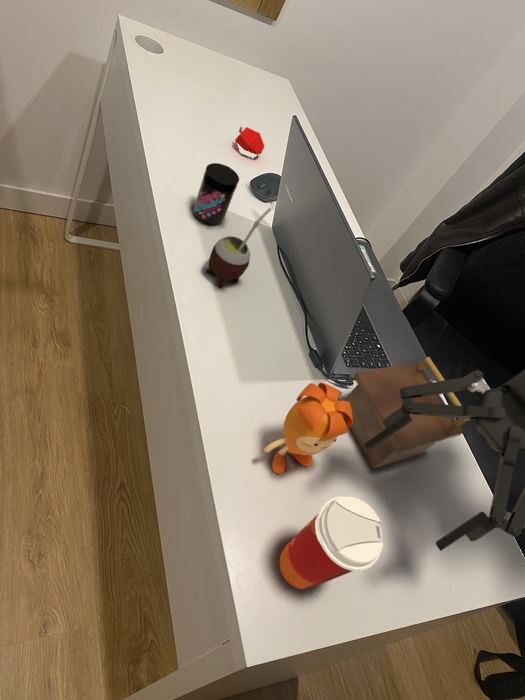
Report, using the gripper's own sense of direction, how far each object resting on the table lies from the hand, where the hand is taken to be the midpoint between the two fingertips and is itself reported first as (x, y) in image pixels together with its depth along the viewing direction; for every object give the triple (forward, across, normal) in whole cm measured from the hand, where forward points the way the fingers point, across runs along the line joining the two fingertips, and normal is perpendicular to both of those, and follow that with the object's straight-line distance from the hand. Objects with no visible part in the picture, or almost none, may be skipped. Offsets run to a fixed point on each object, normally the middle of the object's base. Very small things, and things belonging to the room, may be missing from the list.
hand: (400, 495), depth 59 cm
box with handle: (-3, +10, -24) cm, 26 cm away
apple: (-17, +87, -38) cm, 96 cm away
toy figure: (+11, +14, -10) cm, 21 cm away
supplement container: (0, +66, -22) cm, 69 cm away
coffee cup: (+17, 0, -5) cm, 17 cm away
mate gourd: (+4, +50, -17) cm, 53 cm away
